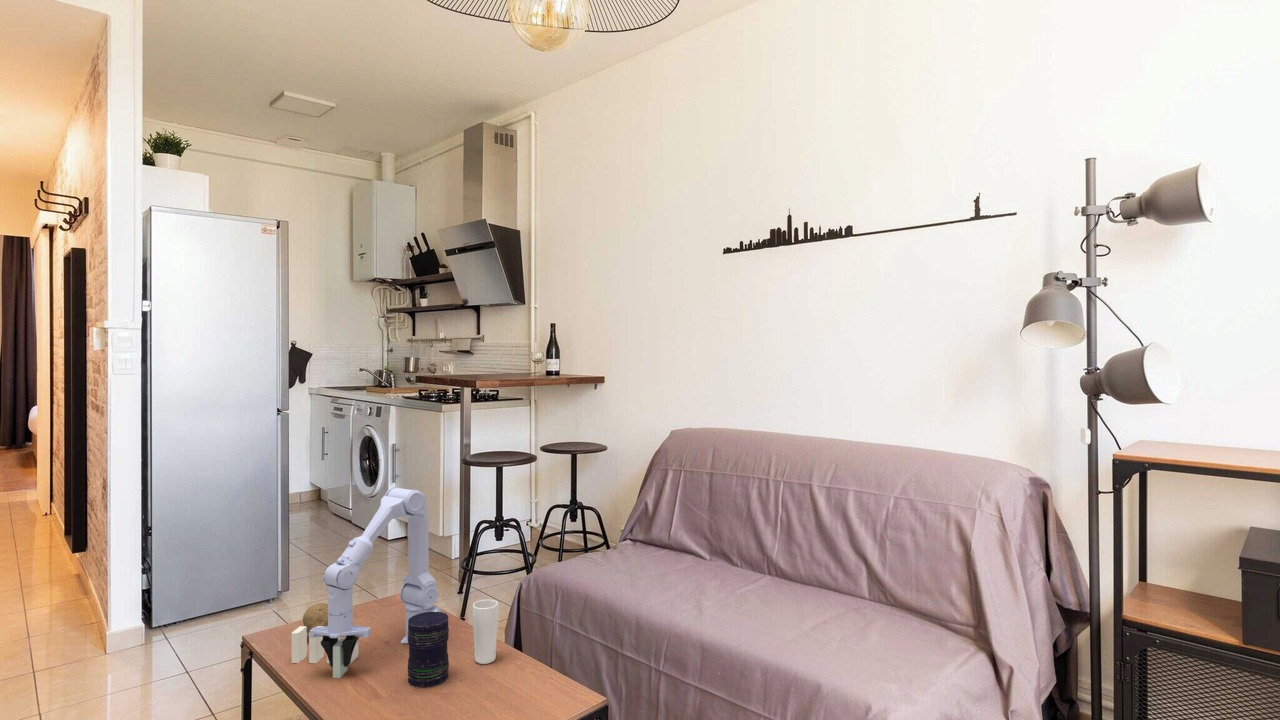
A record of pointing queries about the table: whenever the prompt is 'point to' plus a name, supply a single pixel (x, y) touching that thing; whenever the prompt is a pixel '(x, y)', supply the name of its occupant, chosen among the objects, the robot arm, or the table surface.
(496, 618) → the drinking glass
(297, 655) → the domino
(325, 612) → the natural sponge
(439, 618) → the dark blue cylinder
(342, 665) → the domino
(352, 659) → the domino
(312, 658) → the domino
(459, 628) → the table surface
